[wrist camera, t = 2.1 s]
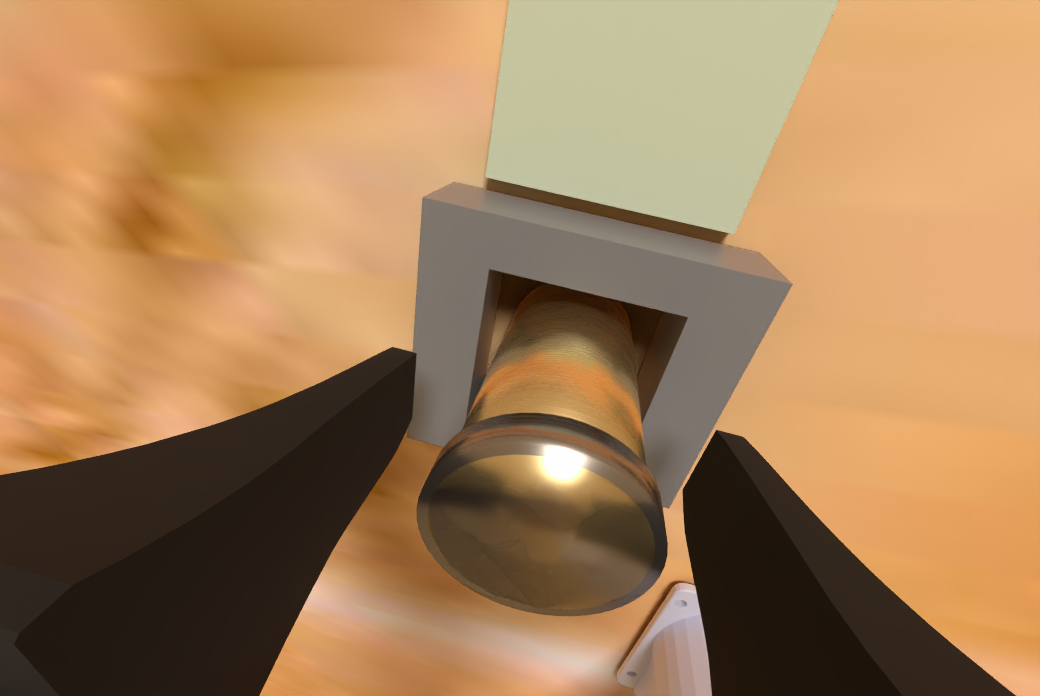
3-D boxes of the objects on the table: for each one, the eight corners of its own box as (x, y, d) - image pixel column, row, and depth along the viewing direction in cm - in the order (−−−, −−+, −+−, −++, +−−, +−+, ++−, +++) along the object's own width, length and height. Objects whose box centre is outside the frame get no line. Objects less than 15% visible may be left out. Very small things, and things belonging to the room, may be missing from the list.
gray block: (660, 454, 16) (669, 508, 14) (433, 394, 17) (407, 437, 15) (759, 252, 12) (792, 283, 10) (454, 181, 13) (422, 197, 10)
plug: (615, 402, 15) (621, 639, 8) (497, 372, 16) (410, 577, 9) (657, 291, 13) (711, 490, 6) (518, 257, 13) (424, 413, 7)
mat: (730, 230, 12) (734, 234, 12) (488, 175, 12) (485, 177, 12) (834, -5, 9) (843, -9, 9) (521, -65, 10) (518, -72, 9)
